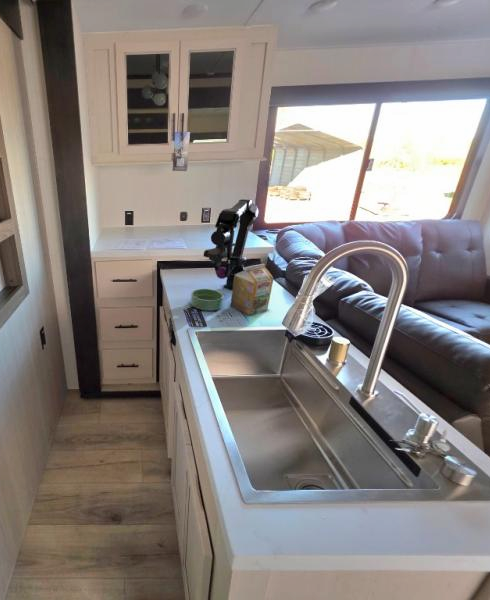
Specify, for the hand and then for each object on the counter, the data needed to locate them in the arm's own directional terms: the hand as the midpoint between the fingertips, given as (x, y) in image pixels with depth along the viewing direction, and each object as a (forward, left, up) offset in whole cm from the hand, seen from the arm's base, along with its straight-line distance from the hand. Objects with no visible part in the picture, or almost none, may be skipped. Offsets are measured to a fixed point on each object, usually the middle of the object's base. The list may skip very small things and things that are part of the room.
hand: (221, 275), depth 139 cm
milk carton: (-2, +14, -11) cm, 18 cm away
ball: (0, 0, +1) cm, 1 cm away
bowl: (+10, +1, -11) cm, 15 cm away
